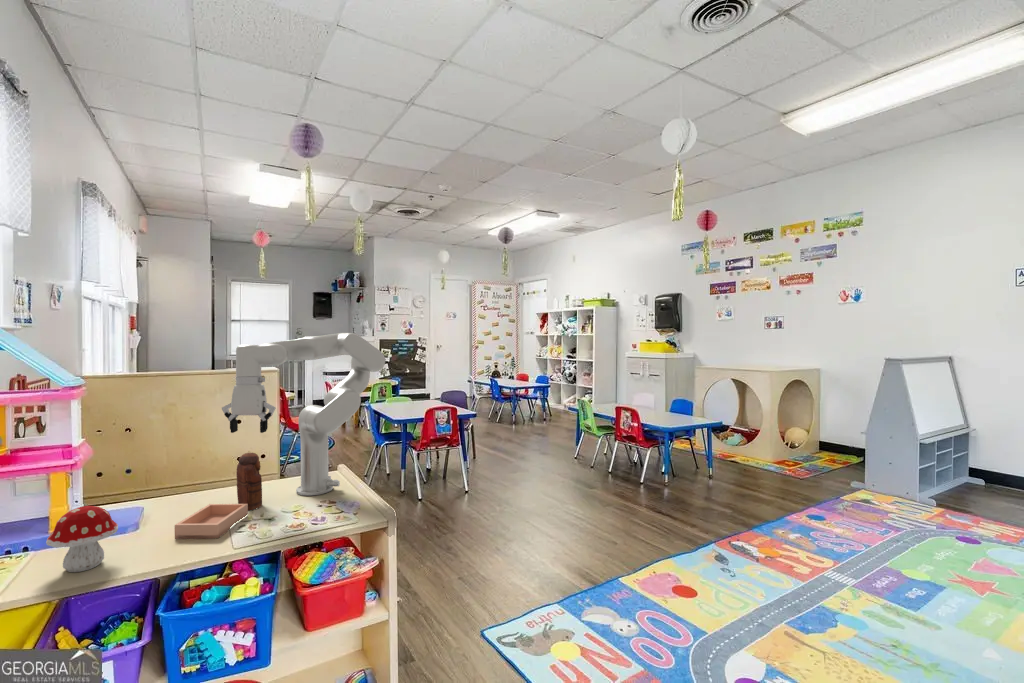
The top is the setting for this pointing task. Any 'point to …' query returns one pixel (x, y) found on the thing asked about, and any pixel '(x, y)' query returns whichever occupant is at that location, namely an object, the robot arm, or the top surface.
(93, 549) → the decorative mushroom
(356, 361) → the robot arm
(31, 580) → the top surface
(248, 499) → the wooden figurine
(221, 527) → the tray
